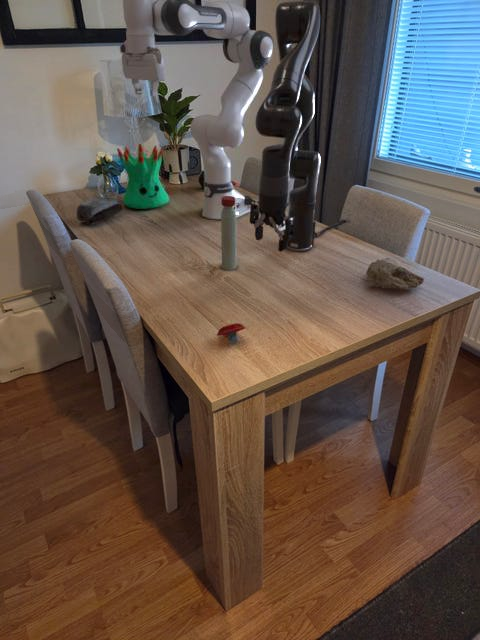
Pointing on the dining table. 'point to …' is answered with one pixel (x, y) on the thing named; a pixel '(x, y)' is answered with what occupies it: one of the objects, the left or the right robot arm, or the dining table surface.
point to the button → (231, 331)
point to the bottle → (228, 238)
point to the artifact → (391, 275)
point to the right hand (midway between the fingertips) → (270, 244)
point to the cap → (228, 201)
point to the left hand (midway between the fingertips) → (146, 95)
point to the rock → (98, 210)
